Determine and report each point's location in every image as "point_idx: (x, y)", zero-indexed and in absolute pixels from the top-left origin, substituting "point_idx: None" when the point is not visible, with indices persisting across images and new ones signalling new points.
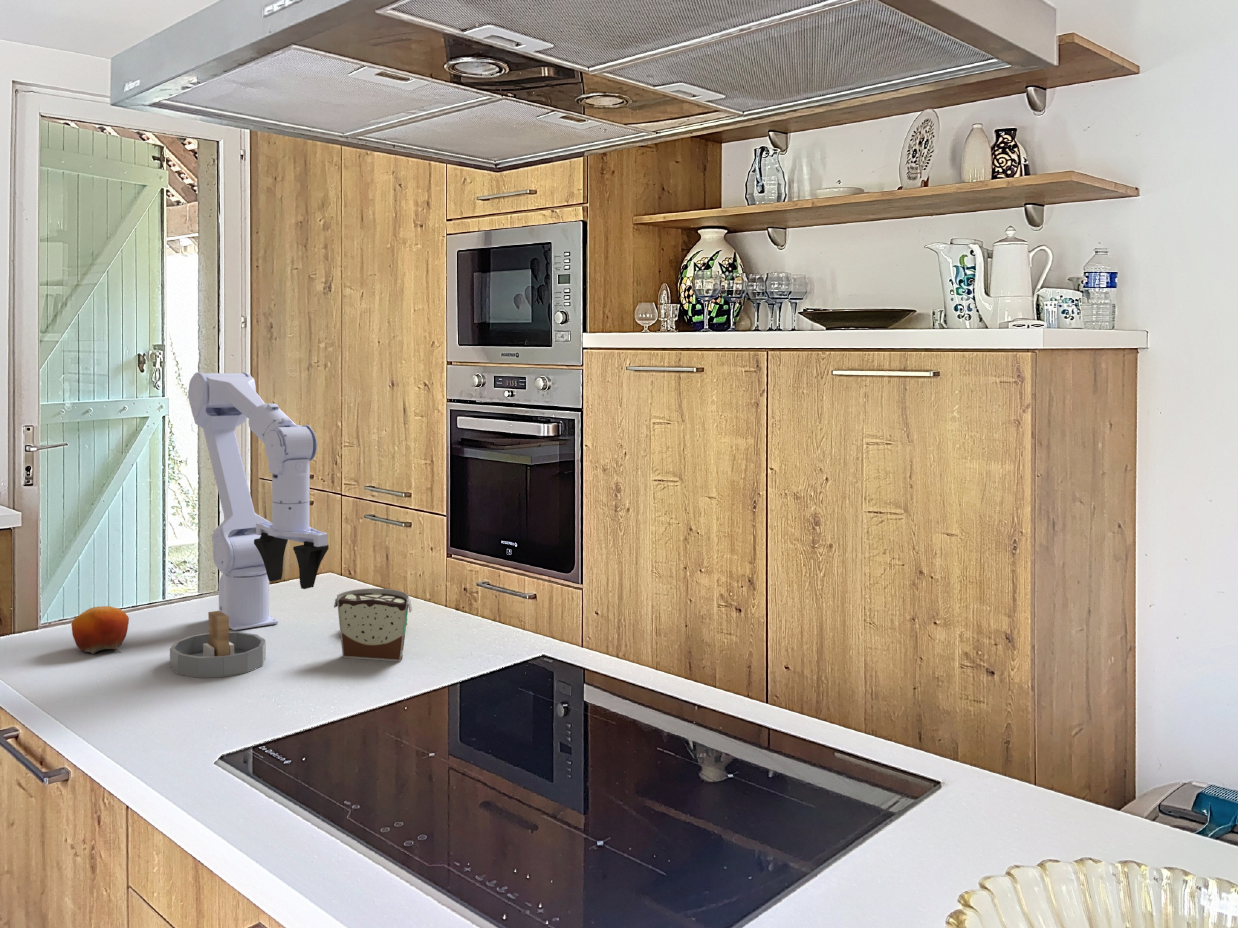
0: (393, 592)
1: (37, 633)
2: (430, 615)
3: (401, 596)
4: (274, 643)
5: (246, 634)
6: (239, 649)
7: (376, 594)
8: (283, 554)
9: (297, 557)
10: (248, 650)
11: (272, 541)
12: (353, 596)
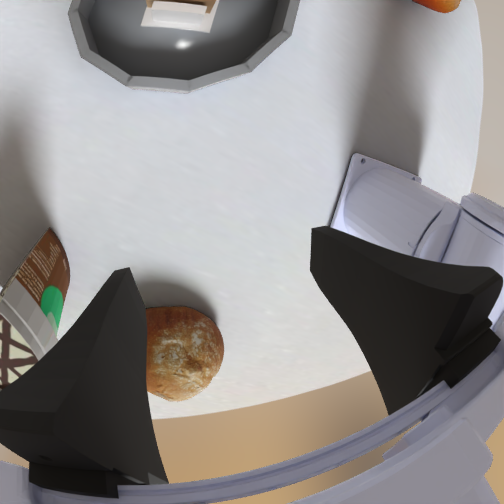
0: None
1: (476, 18)
2: (194, 401)
3: None
4: (223, 161)
5: (211, 73)
6: (220, 67)
7: None
8: (361, 346)
9: (73, 368)
10: (196, 77)
11: (425, 358)
12: (26, 343)
